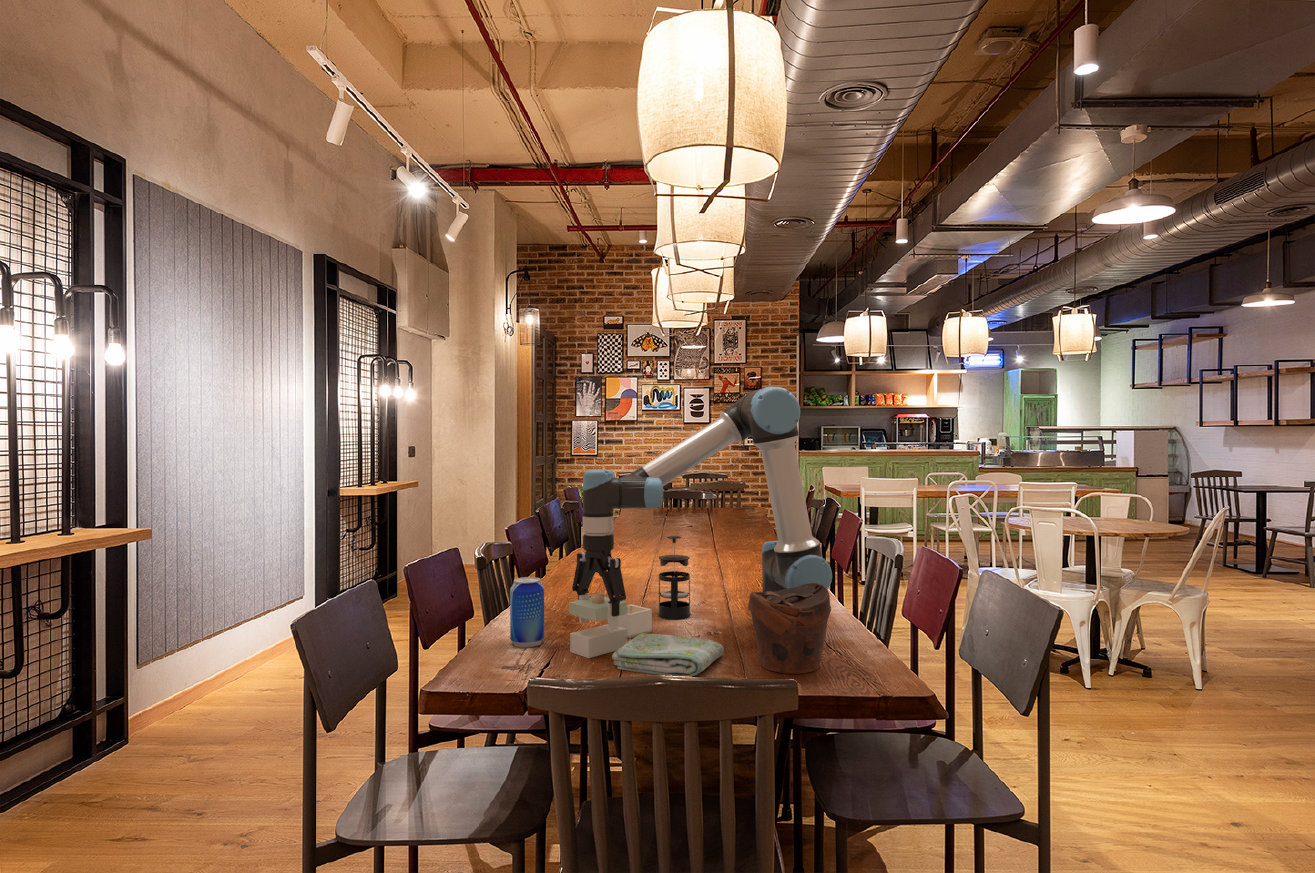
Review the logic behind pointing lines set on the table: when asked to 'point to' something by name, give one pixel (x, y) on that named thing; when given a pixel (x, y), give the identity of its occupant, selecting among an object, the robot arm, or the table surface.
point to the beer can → (527, 612)
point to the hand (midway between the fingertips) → (598, 625)
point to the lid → (594, 607)
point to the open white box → (636, 620)
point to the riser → (597, 641)
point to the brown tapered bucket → (791, 627)
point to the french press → (674, 588)
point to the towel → (667, 654)
